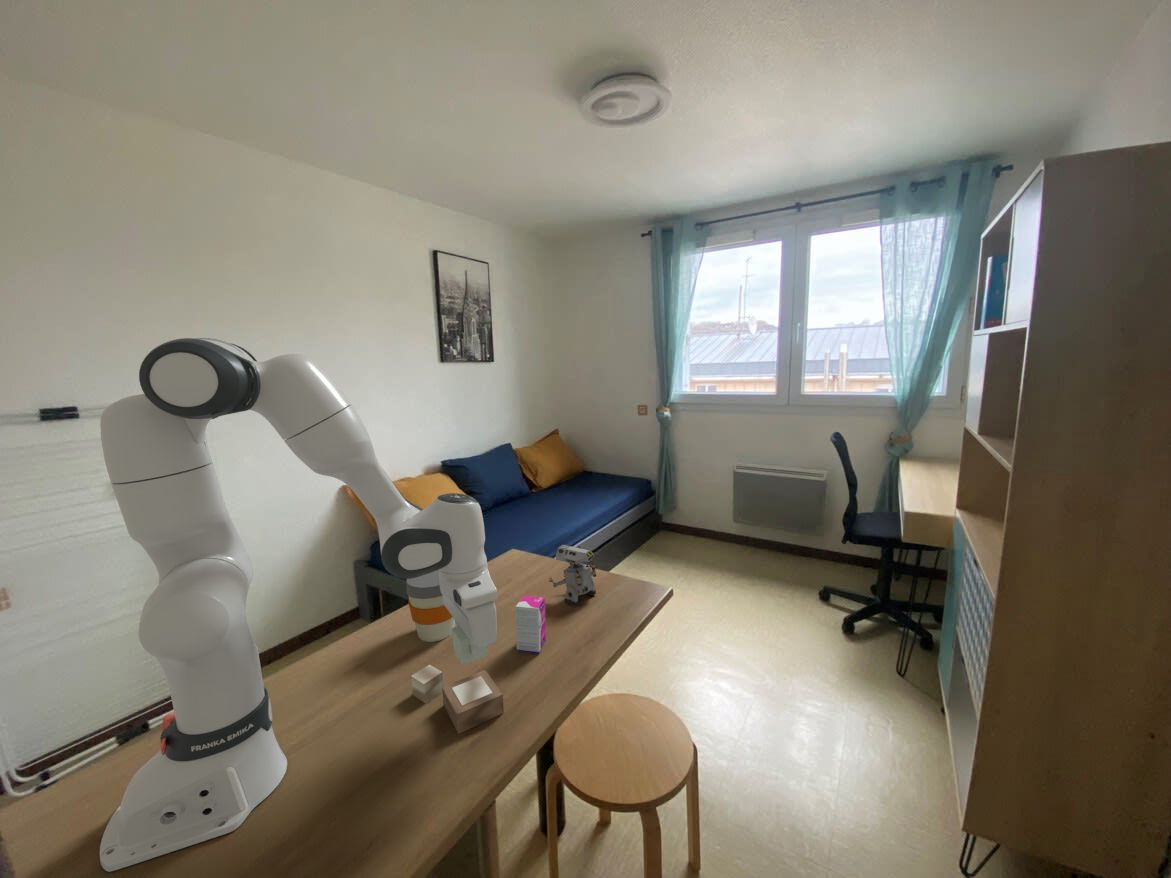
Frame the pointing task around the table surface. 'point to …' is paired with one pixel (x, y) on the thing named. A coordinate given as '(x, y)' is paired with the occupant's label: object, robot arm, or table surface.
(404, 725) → the table surface
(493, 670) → the table surface
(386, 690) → the table surface
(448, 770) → the table surface
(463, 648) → the sage block
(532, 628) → the supplement box
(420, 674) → the block
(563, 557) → the figurine
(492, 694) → the walnut base
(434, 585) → the reusable coffee cup
